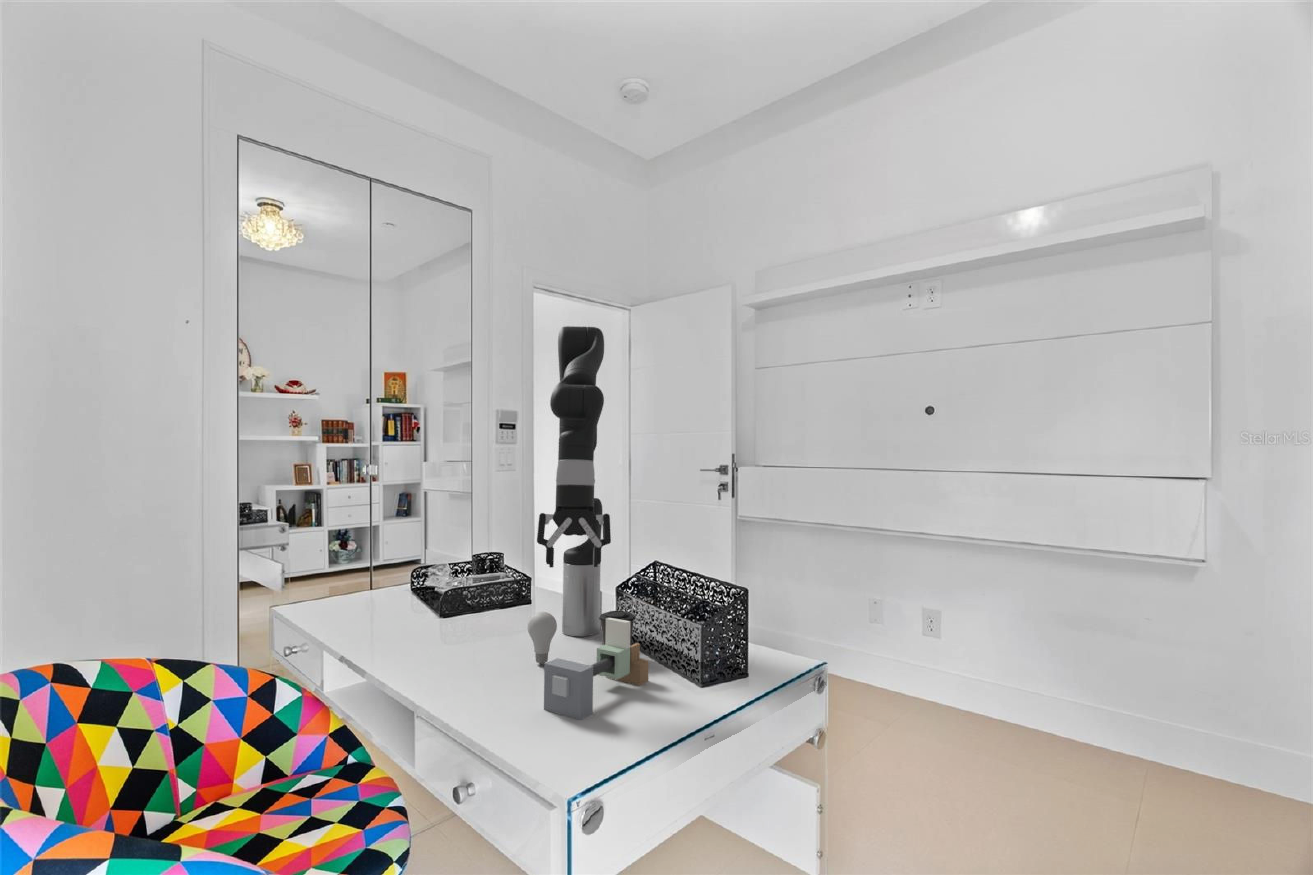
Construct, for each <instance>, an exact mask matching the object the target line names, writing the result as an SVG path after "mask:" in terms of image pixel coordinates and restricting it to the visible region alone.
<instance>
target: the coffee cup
mask: <svg viewBox="0 0 1313 875" xmlns="http://www.w3.org/2000/svg"><path fill="white" fill-rule="evenodd" d="M607 618H614V619H620V620H626V621H631V622H630V646H631V645H632V636H633V629H634V622H635V620H636V619H637V617H636V616H635V614H634V613H632V612H627V611H624V610H610V611H608V612H607V611H606V612H602V614H601V615H600V617H599V619H600V620H601V633H602V634H601V635H602V646H603V645H605V635H606V619H607Z"/></svg>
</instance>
